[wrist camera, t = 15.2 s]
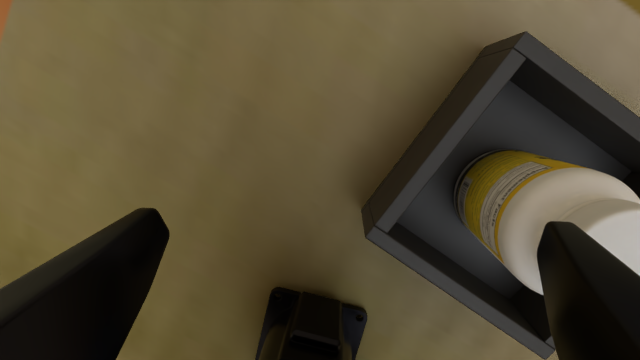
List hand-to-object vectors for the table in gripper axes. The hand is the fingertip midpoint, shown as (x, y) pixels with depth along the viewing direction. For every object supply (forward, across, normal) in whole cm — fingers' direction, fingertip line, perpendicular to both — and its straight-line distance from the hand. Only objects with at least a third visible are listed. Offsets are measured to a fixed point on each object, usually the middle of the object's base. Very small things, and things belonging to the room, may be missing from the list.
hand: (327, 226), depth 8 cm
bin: (+12, -7, +9) cm, 17 cm away
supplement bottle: (+12, -7, +9) cm, 16 cm away
